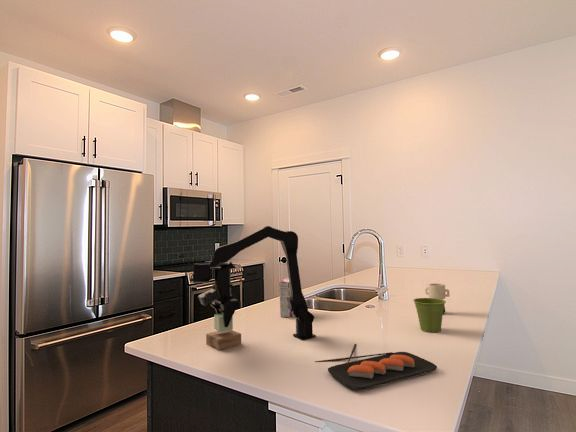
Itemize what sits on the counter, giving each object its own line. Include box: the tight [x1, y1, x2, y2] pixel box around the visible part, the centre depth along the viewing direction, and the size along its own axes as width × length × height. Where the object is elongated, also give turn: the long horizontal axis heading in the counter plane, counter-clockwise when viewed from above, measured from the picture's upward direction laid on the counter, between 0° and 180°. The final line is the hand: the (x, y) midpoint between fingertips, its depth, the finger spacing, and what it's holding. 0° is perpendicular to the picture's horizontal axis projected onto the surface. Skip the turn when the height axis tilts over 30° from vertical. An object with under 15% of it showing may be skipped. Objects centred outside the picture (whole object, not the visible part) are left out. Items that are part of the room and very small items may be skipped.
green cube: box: [213, 313, 234, 332], centre depth 120 cm, size 5×5×5 cm
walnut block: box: [205, 329, 242, 351], centre depth 120 cm, size 9×9×4 cm
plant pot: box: [412, 297, 447, 333], centre depth 130 cm, size 12×12×11 cm
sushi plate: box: [314, 343, 438, 390], centre depth 100 cm, size 29×30×4 cm
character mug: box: [424, 283, 451, 313], centre depth 155 cm, size 11×7×13 cm, turn 46°
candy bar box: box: [278, 277, 294, 318], centre depth 160 cm, size 11×5×16 cm, turn 168°
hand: (223, 325), depth 120 cm, fingers closed on green cube, 5 cm apart
